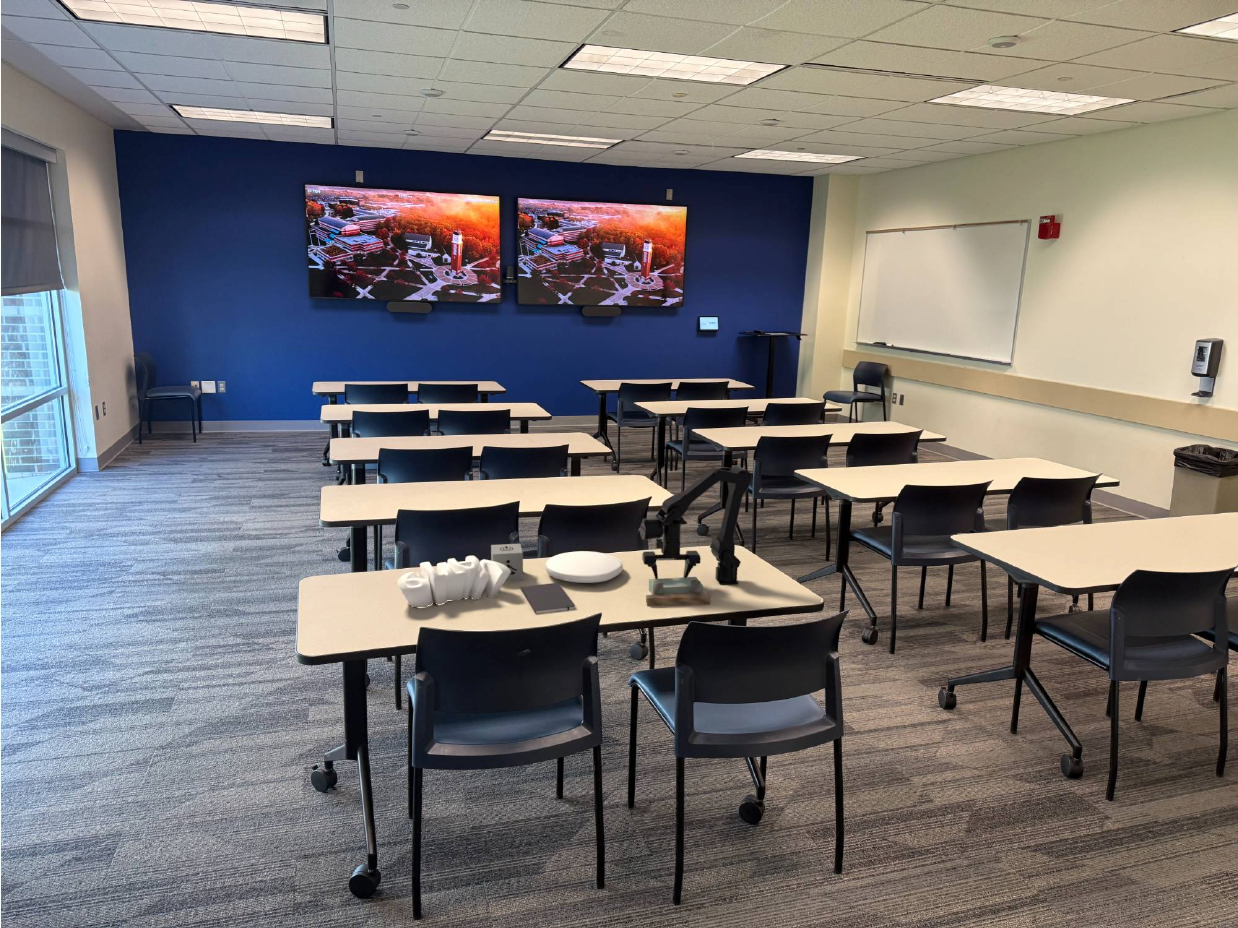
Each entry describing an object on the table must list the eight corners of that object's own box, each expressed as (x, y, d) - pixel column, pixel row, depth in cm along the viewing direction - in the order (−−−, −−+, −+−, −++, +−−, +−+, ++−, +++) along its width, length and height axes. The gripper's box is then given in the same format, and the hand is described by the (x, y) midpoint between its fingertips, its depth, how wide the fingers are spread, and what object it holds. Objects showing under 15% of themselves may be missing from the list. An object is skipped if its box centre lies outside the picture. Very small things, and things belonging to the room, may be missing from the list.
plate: (549, 547, 293) (623, 549, 293) (549, 565, 294) (623, 567, 293) (541, 565, 265) (622, 568, 265) (540, 585, 266) (621, 587, 265)
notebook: (520, 590, 265) (535, 615, 245) (520, 586, 265) (535, 610, 245) (558, 586, 269) (575, 610, 250) (558, 582, 269) (575, 605, 249)
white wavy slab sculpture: (499, 581, 272) (498, 551, 270) (513, 598, 258) (513, 566, 256) (392, 596, 258) (391, 564, 256) (402, 615, 243) (400, 581, 241)
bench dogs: (706, 597, 260) (706, 579, 259) (710, 604, 255) (710, 586, 254) (644, 598, 258) (645, 581, 257) (647, 605, 253) (647, 587, 251)
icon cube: (491, 572, 280) (491, 545, 278) (520, 570, 282) (520, 543, 280) (493, 582, 271) (492, 554, 269) (523, 580, 273) (522, 552, 271)
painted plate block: (695, 588, 269) (695, 576, 269) (702, 596, 262) (702, 585, 261) (648, 590, 266) (648, 579, 266) (654, 599, 259) (654, 587, 258)
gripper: (695, 529, 275) (693, 572, 278) (640, 530, 273) (639, 574, 276) (701, 539, 264) (699, 584, 267) (644, 540, 262) (643, 585, 265)
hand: (670, 581), depth 269 cm, fingers open, 9 cm apart
